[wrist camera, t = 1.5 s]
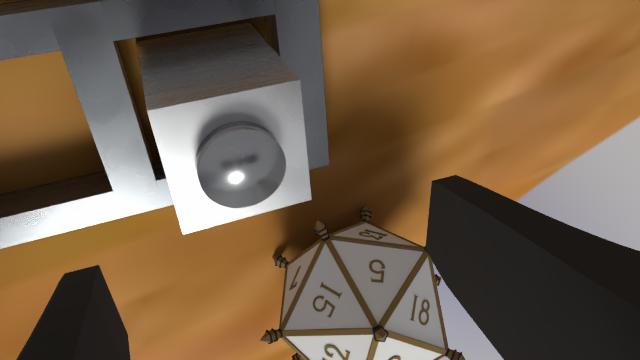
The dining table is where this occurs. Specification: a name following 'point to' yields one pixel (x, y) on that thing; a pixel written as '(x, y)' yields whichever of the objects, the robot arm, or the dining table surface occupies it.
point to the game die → (361, 298)
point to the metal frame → (118, 102)
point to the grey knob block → (225, 124)
